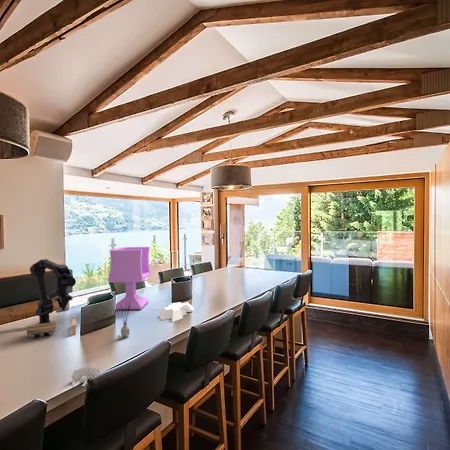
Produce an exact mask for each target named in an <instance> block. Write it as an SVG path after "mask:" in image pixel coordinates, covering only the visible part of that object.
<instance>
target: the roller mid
mask: <svg viewBox="0 0 450 450" xmlns="http://www.w3.org/2000/svg"><path fill="white" fill-rule="evenodd" d="M45 335H46V332H44V333H38V336H39V337H44V336H45Z"/></svg>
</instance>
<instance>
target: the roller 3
mask: <svg viewBox="0 0 450 450" xmlns="http://www.w3.org/2000/svg"><path fill="white" fill-rule="evenodd" d="M69 310H70V306H68V305H67V306H66V308H65V310H64V311H62V307H56V308H55V311H54V312H55V313H56V314H57V313H58V314H59V313H63V312H67V311H69Z"/></svg>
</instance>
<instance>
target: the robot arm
mask: <svg viewBox="0 0 450 450" xmlns="http://www.w3.org/2000/svg"><path fill="white" fill-rule="evenodd" d="M46 269H47V270H49V271H52V273H53V274H54V275H55V276H54V277H53V278H54V279H56V280H55V282H56V287H54V290H52V291H50V292H48V291H47V286H46V282H45V281H46V280H45V274H46ZM29 272H30V273H31V274H30V275H31V277H33V278H34V281H35V283H36V289H37V293H38V298H39V301H38V303H37V309H36V311H35V316H37V317H38V318H39V320H38V324H43V323H50V322H51V320H50V314H53V310H54V302H53V299H54V300H55V301H57V304H58V306H59V307H58V308H60V307H62V311H64V310H65V308H66V306H68V303H69V301H72V300H73V296H72V295H70V294H69V293H68V288H69V287H70V288H71V287H75V285H76V283H77V280H76V278H75V277H74V276H73V274H72V272H71V271H70V269H69V266H68V265H66V264H59V263H56V262H53V261H51V260H49V259H47V258H44V259H40V260H38V261H37V262H35V263H33V264H32V265H31V266H30V267H29ZM64 312H65V311H64Z"/></svg>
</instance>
